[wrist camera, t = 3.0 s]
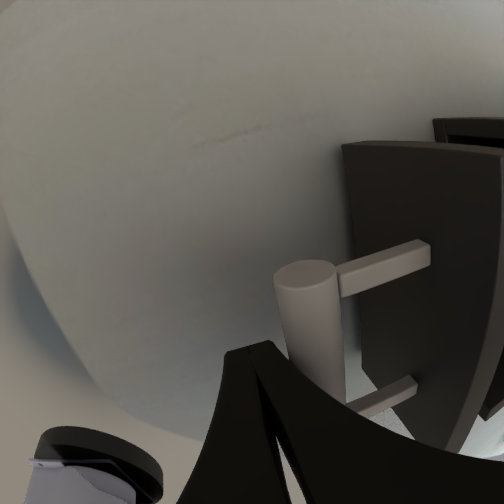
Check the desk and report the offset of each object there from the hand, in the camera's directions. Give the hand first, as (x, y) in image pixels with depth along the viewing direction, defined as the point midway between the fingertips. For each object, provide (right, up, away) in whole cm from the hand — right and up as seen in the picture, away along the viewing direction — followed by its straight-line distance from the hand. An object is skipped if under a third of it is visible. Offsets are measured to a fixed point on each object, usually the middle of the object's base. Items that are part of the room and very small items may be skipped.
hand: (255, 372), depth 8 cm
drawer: (+8, +4, +4) cm, 10 cm away
